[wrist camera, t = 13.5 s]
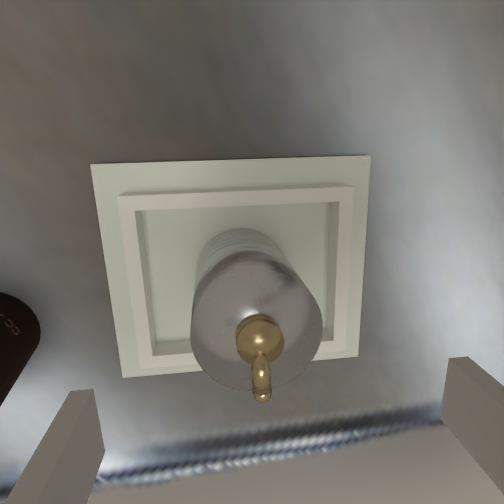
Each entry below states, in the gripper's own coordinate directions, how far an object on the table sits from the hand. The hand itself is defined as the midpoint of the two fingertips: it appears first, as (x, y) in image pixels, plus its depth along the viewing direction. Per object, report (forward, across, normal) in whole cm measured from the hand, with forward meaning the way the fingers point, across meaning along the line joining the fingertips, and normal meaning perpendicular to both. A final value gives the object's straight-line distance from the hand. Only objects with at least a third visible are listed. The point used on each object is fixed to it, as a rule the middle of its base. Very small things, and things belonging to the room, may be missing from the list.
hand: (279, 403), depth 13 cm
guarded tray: (+16, 0, 0) cm, 16 cm away
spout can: (+15, 0, 0) cm, 15 cm away
